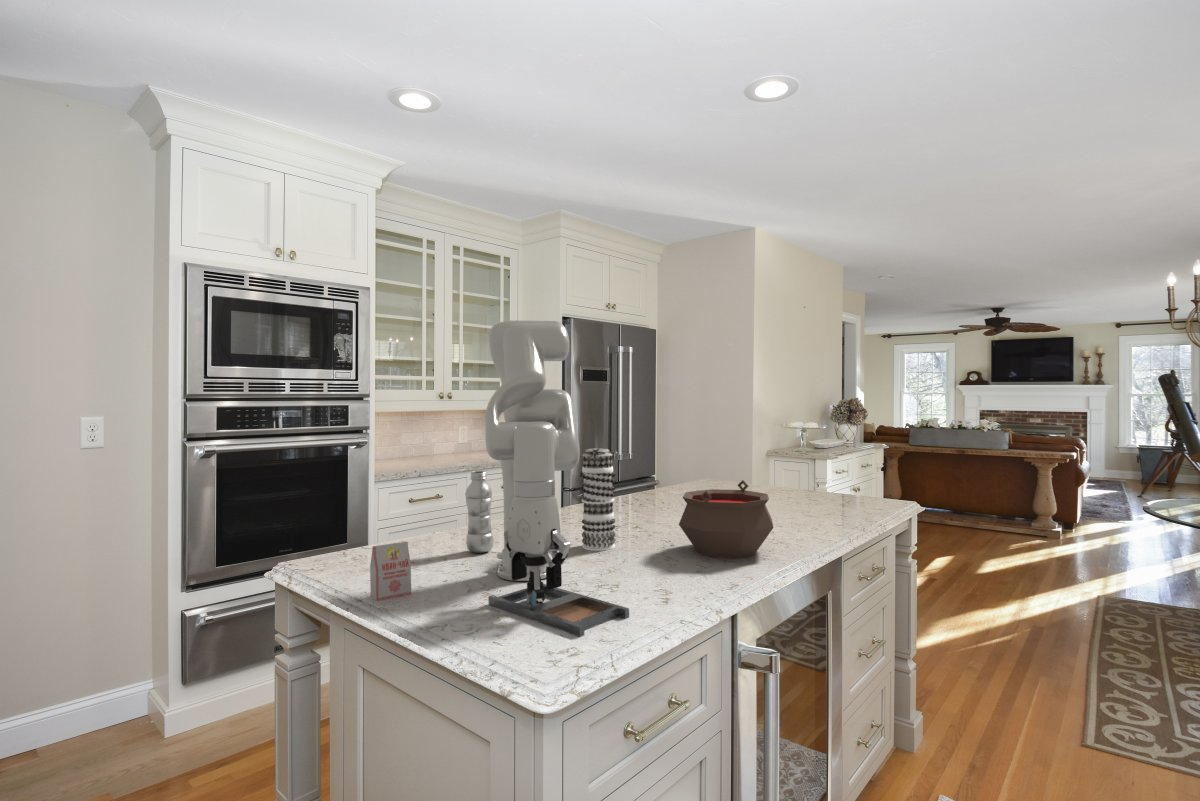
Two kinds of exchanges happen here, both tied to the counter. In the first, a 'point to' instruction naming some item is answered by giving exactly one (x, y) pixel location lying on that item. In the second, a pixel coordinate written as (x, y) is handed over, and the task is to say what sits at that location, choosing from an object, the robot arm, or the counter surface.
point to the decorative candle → (598, 500)
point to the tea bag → (390, 571)
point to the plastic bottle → (479, 514)
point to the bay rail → (562, 609)
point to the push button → (534, 578)
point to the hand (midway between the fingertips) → (536, 583)
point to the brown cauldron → (726, 521)
